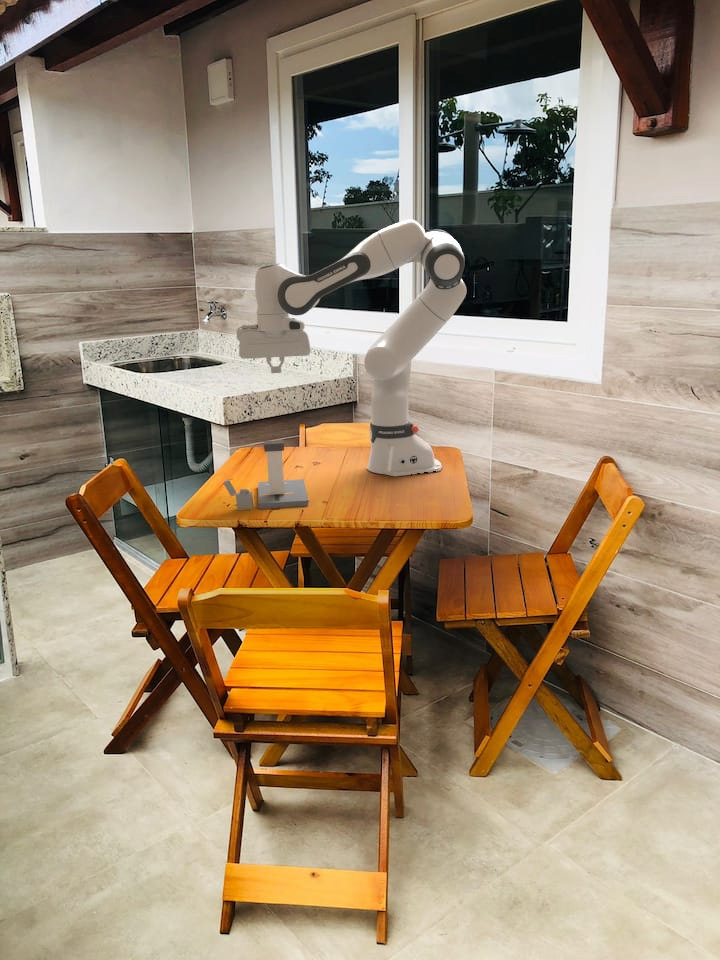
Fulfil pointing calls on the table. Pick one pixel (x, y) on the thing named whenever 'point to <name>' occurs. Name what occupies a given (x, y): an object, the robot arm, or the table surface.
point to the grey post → (275, 466)
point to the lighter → (240, 496)
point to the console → (283, 495)
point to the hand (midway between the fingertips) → (276, 372)
